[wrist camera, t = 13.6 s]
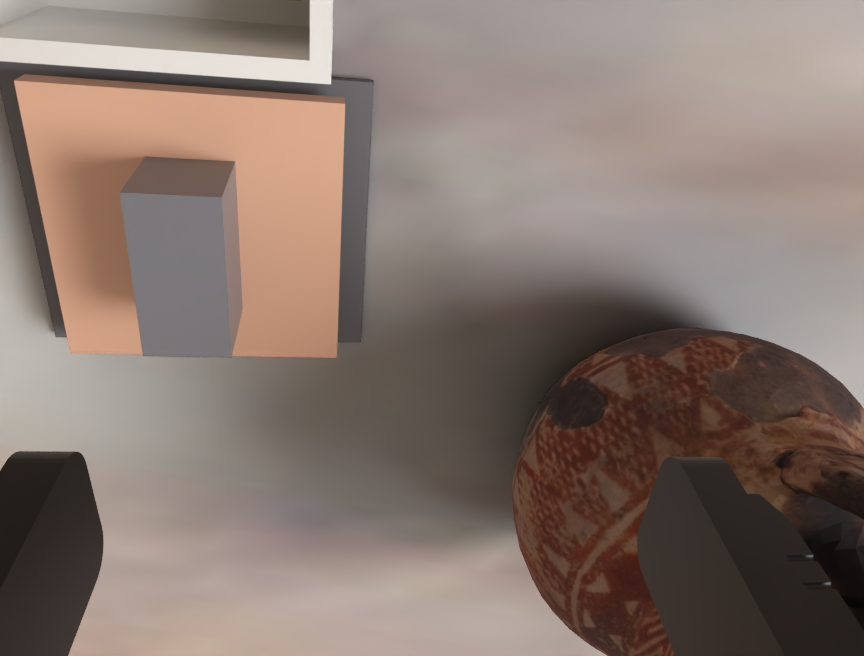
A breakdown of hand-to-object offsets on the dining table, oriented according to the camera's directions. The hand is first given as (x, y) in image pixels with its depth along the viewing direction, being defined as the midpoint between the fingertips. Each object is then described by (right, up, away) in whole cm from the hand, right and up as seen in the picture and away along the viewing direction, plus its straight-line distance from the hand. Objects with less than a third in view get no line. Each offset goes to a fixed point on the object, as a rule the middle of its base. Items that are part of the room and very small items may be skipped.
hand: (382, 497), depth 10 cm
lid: (-11, +8, +27) cm, 30 cm away
